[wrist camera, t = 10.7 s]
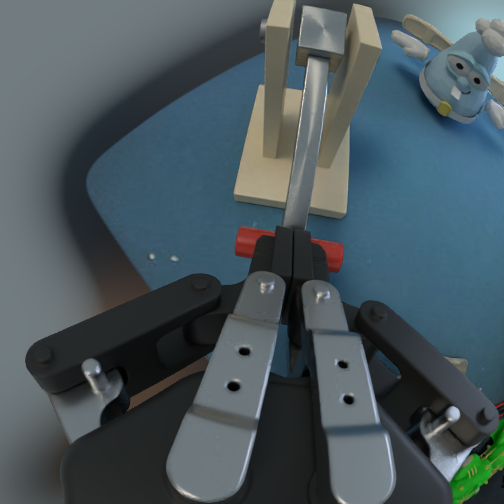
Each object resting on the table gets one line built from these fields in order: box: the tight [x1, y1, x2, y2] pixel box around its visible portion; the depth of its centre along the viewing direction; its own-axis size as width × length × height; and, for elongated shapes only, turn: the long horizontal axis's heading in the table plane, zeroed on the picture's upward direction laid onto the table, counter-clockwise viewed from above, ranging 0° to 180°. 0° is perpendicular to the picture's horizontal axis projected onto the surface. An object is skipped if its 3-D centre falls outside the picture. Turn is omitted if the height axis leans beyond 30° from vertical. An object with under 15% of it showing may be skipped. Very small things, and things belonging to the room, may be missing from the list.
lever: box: [235, 5, 347, 273], centre depth 12 cm, size 13×5×2 cm, turn 170°
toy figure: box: [391, 14, 504, 130], centre depth 16 cm, size 17×10×15 cm, turn 52°
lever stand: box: [234, 0, 382, 219], centre depth 16 cm, size 11×8×13 cm
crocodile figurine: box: [449, 419, 504, 504], centre depth 13 cm, size 7×18×4 cm, turn 109°
